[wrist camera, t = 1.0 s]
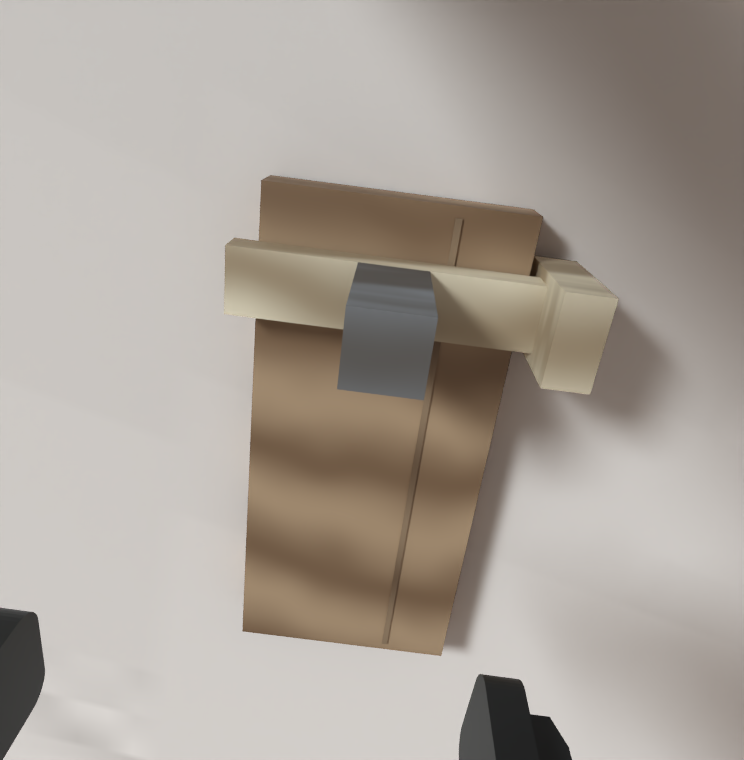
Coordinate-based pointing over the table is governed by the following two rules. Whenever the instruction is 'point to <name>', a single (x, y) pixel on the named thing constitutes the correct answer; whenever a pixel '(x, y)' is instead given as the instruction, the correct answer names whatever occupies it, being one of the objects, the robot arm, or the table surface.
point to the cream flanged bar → (425, 312)
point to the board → (369, 433)
